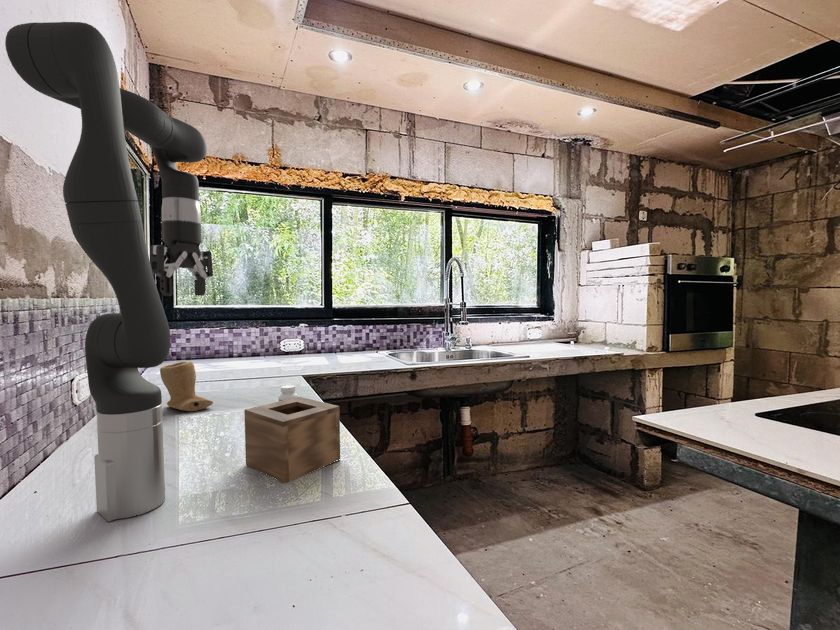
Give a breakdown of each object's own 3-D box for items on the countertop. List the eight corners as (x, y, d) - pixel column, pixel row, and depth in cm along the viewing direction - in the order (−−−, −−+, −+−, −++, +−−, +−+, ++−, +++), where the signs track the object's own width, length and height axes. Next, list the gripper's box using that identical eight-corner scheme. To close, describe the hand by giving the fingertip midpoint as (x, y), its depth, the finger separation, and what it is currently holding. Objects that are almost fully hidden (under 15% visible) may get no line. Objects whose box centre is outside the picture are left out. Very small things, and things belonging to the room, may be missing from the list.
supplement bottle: (301, 417, 125) (300, 384, 125) (294, 422, 120) (293, 388, 119) (283, 416, 126) (283, 384, 125) (275, 422, 120) (275, 388, 120)
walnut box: (284, 483, 82) (283, 421, 81) (245, 465, 90) (244, 409, 90) (340, 460, 93) (339, 406, 92) (301, 446, 101) (300, 396, 101)
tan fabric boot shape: (156, 408, 136) (154, 361, 135) (195, 401, 145) (193, 357, 144) (173, 417, 126) (171, 367, 125) (214, 408, 135) (213, 362, 134)
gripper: (166, 214, 85) (169, 295, 86) (220, 225, 99) (222, 295, 99) (138, 217, 87) (141, 296, 88) (195, 227, 101) (197, 295, 102)
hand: (184, 295), depth 94 cm, fingers open, 8 cm apart
